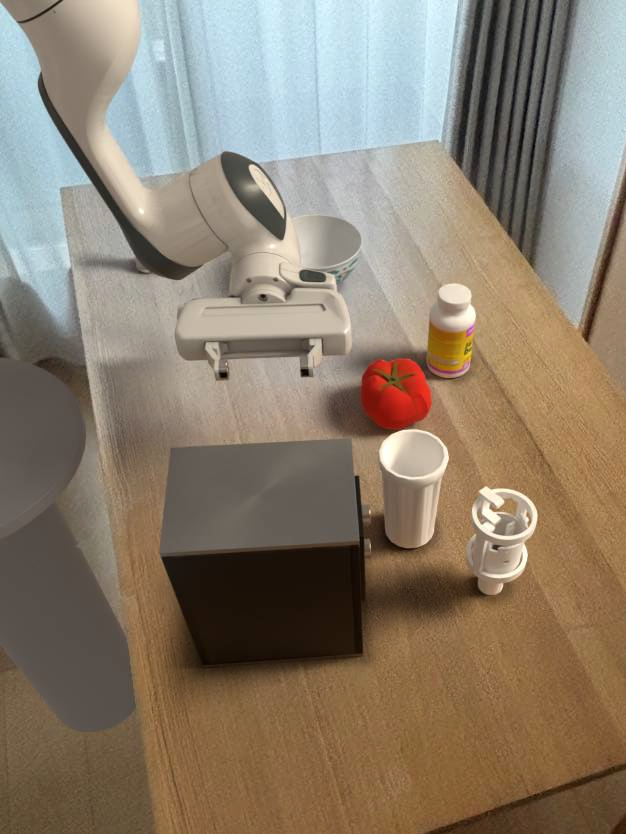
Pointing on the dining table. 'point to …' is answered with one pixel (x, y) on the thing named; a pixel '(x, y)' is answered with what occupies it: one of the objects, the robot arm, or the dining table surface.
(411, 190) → the dining table surface
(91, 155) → the robot arm
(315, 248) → the chinaware
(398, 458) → the cup
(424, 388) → the tomato
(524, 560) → the white ringed cylindrical holder
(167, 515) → the oven
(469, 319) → the supplement bottle
